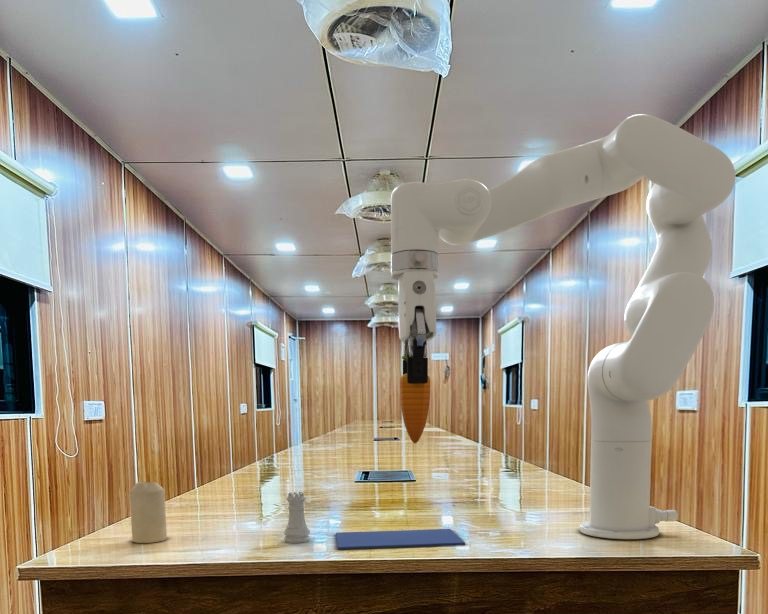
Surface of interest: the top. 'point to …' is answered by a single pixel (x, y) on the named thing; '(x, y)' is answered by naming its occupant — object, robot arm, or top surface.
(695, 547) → the top surface
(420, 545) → the napkin
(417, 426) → the carrot
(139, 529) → the candle
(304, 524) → the rook chess piece
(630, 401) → the robot arm
